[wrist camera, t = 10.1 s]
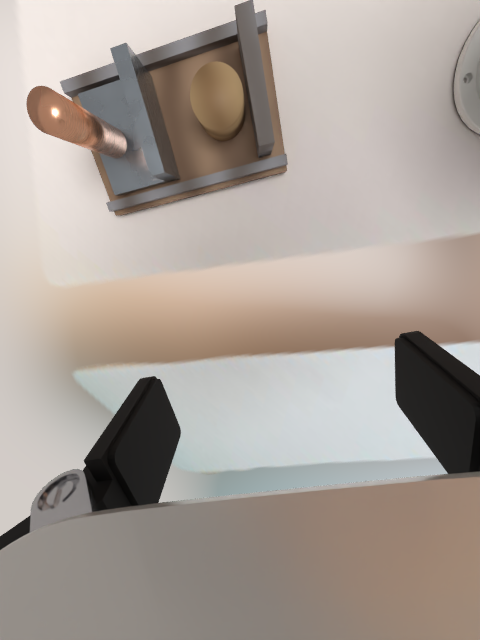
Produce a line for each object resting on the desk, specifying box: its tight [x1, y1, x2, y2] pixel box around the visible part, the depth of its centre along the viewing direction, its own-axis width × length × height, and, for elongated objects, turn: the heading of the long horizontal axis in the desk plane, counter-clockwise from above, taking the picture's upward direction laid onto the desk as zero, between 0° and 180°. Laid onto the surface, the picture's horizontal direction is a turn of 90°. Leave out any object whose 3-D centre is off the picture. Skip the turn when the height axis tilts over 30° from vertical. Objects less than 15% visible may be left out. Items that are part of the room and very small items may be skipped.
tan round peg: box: [190, 61, 245, 141], centre depth 27 cm, size 5×5×5 cm
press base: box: [60, 0, 287, 216], centre depth 28 cm, size 22×14×8 cm, turn 103°
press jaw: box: [27, 43, 180, 196], centre depth 25 cm, size 8×10×12 cm
